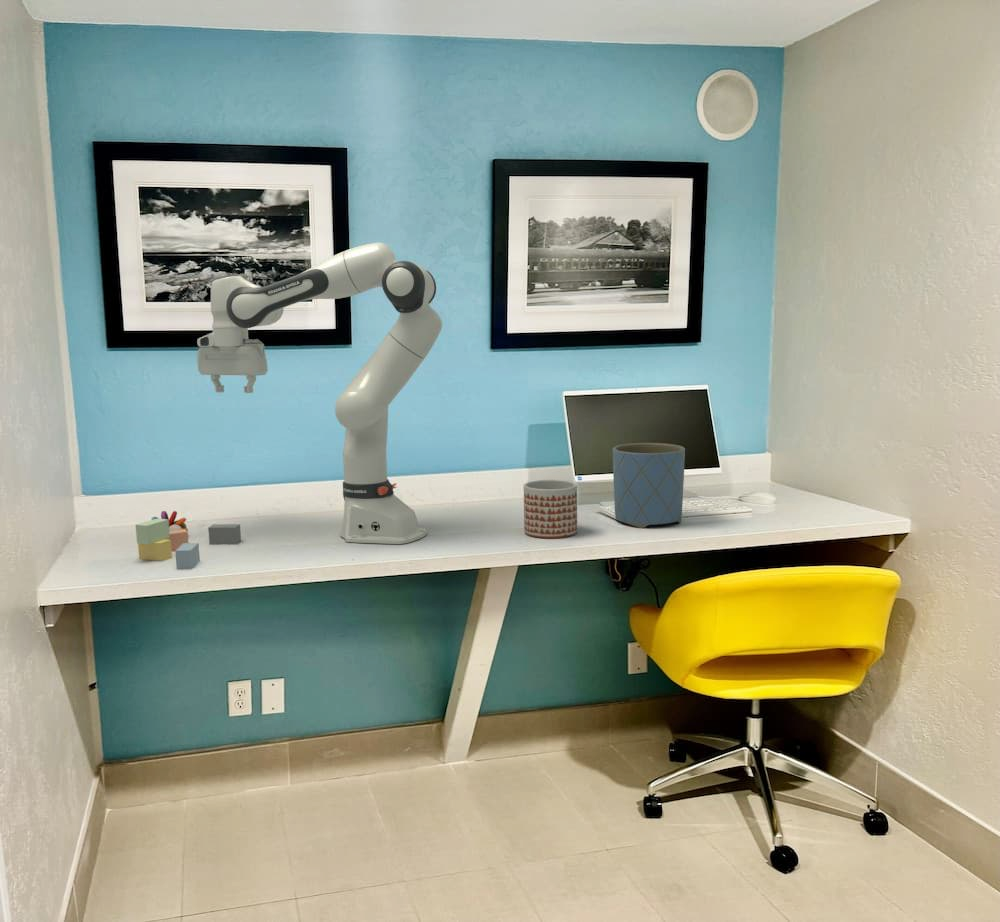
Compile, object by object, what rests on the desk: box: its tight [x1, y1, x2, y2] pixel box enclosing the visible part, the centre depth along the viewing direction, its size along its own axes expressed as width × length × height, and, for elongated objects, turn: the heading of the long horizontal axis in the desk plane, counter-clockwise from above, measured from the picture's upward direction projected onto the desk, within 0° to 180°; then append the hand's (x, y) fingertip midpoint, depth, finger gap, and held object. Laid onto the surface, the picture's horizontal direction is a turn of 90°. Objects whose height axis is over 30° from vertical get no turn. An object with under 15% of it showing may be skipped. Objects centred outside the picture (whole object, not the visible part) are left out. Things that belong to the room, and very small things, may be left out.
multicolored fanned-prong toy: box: [151, 510, 189, 532], centre depth 249 cm, size 8×10×7 cm
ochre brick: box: [137, 539, 173, 562], centre depth 229 cm, size 7×4×4 cm, turn 65°
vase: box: [523, 479, 578, 540], centre depth 246 cm, size 14×14×13 cm
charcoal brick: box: [207, 523, 242, 545], centre depth 243 cm, size 7×4×4 cm, turn 86°
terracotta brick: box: [167, 529, 189, 552], centre depth 237 cm, size 7×4×4 cm, turn 118°
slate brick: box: [174, 542, 201, 570], centre depth 222 cm, size 7×4×4 cm, turn 3°
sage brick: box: [135, 517, 170, 544], centre depth 228 cm, size 7×4×4 cm, turn 155°
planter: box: [612, 442, 686, 529], centre depth 256 cm, size 19×19×20 cm
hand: (234, 392), depth 250 cm, fingers open, 8 cm apart
